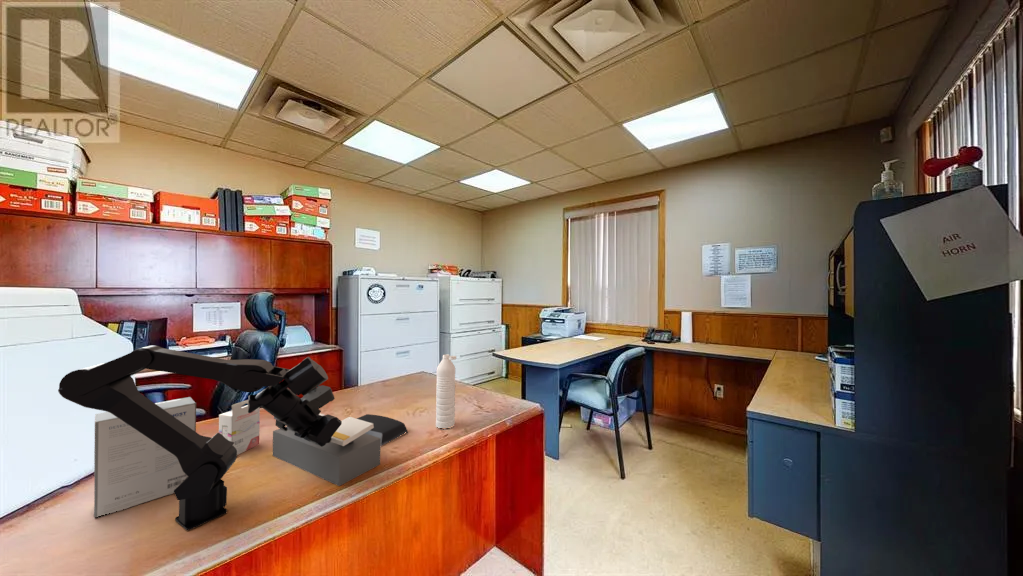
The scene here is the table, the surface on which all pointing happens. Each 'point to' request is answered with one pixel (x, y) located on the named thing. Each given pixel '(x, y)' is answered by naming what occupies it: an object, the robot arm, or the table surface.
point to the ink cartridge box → (241, 426)
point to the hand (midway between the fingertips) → (329, 440)
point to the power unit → (328, 456)
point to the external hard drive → (384, 427)
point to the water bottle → (445, 392)
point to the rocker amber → (350, 430)
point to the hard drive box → (135, 461)
